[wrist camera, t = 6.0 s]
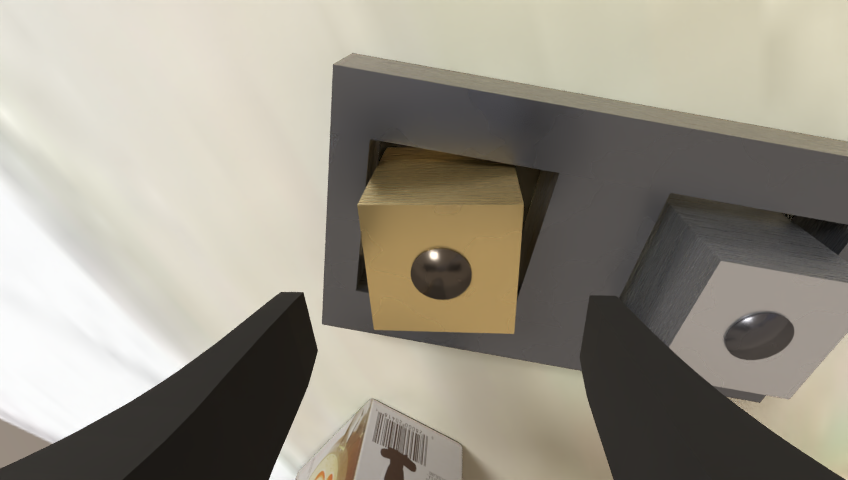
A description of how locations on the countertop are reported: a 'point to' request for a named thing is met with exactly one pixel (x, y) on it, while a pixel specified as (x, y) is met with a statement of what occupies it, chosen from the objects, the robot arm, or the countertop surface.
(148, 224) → the countertop surface
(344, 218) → the grey square-hole board
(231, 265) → the countertop surface
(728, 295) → the zinc cube
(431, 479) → the coffee box
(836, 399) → the countertop surface
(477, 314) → the tan wooden block
